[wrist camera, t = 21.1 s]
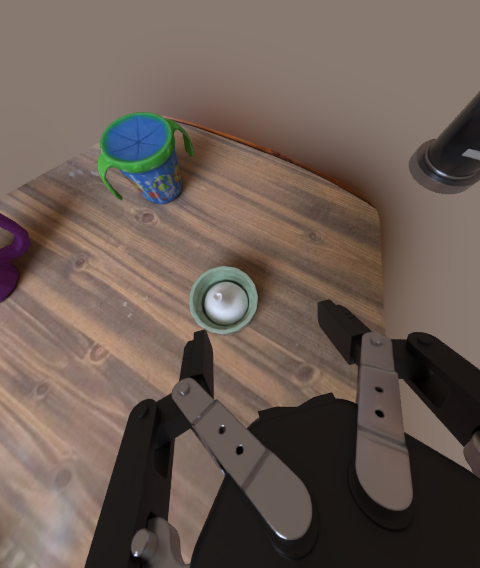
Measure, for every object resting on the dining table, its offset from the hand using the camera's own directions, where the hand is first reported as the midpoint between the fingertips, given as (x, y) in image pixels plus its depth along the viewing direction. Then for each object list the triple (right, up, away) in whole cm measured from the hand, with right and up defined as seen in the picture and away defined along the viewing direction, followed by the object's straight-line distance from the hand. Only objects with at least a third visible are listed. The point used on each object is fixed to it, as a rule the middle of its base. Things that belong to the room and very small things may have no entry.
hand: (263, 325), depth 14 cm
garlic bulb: (-4, 0, +17) cm, 17 cm away
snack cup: (-16, +21, +24) cm, 36 cm away
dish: (-4, 0, +17) cm, 17 cm away
